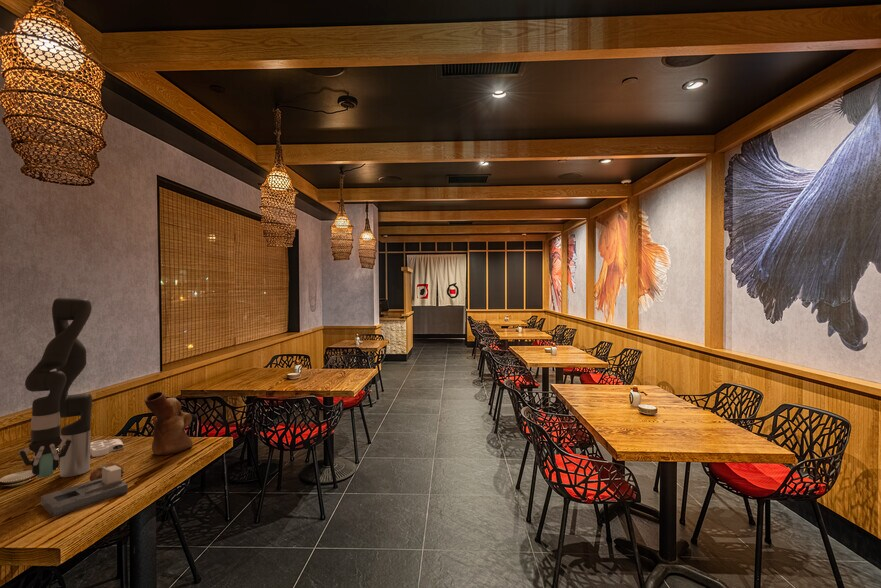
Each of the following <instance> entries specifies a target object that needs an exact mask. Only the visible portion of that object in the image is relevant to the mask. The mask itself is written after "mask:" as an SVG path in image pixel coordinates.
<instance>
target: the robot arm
mask: <svg viewBox="0 0 881 588" xmlns="http://www.w3.org/2000/svg"><path fill="white" fill-rule="evenodd" d="M51 306H52V307H51V316H52V323H53V329H54V335H55V336H54V337H53V338H52V339H51V340H50V341H49V342H48V344H47V345H46V347H45V349H44V352H43V354H42V356H41V359H40V360H39V361H38V363H37V364H36V366H34V368H33V369H31V371H30V373H29V374H28V375H27V376H26V378H25V381H24V387H25V389H26V390H28V391H29V392H33V393H34V392H48V395H45V396H42V397H37V398H35V399H34V400H32V404H31V419H30V421H31V422H30V443H29V445H28V447H26V448H24V449H19V450H18V451H17V453H18V454H19V457H20V458H21V460H22V462H23V463H24V465H25V466H27V467H28V466H31V473H32V474H33V475H35V476H38V475H39V465H38V462H39V459H40V458H41V455H43V454H46V453H51V452H52V454H53V472H54V471H57V469H58V468H59V477H61V478H71V477H75V476H80V475H83V474H85V473H88V472H89V471H90V469H91V455H90V443H91V437H92V435H91V434H92V433H91V429H92V427H91V425H92V423H91V422H92V407H93V397H92V394H91V393H87V392H86V393H85V392H84V393H75V394H74V393H73V394H69V389H70V388H71V386H72V384H73V383H74V382H75V380H76V379H77V378H78V376H79V375H80V374H81V373H82V372H83V370H84V369H85V367H86V366H87V349H86V347H85V345H84V344H83V342H81V340H79V338H78V336H79V335H80V334H81V332H82V330H83V329H84V326H85V325H86V324H87V321H88V320H89V318H90V316H91V313H92V309H93V308H92V303H91V301H90V300H89V299H88V298H83V297H82V298H80V297H56V298H55V299H54V300H53V302H52V305H51ZM69 321H72V322H71V323H70V324H69ZM55 369H56V370H55ZM52 370H53V371H52ZM79 416H80V418H79V419H77V420H76V421H72V422H71V423H69V424H66V425H64V426H63V427H61V422H62V421H61V419H62V418H63V419H64V418H72V417H79ZM59 446H60V450H59V451H60V452H59V453H58V450H57V449H58V448H59ZM29 451H31V452H32V453H33V457H32V460H30V459H29V457H28V456H27V455H28V454H29ZM59 462H60V463H59Z"/></svg>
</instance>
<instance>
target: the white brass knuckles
mask: <svg viewBox="0 0 881 588" xmlns="http://www.w3.org/2000/svg"><path fill="white" fill-rule="evenodd" d="M124 448H125V445H124V443H123V441H122V439H119V438H112V439H109V440H108V439H107V440H106V439H97V440H95V441H92V442H91V441H90V456H91V457H93V458H95V457H96V458H97V457H102V456H104V455H107V454H109V453H112V452H115V451H122V449H124Z"/></svg>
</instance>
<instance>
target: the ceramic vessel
mask: <svg viewBox="0 0 881 588" xmlns="http://www.w3.org/2000/svg"><path fill="white" fill-rule="evenodd" d="M143 401H144V403H145V405H146V408H147V409H148V410H149V411H150V412H151V413H152V414H153V415H154V416H155V417H156V418H155V420H154V422H153V439H152V440H153V441H152V443H151V451H152V453H154V455H156V456H166V455H167V456H168V455H171V454H177V453H180V452H182V451H185V450H187V449H189V448H192V447H193V445H194V443H193V440H192V438H191V437H190V436H189V435H188V434H187V433H186V432H185V430H184V429H185V428H186V427H188V426H189V425H190V424H191V423H192V420H193V416H192V414H191V413H188V412H184V411H183V410H182V403H181V402H180V401H179V400H178V399H177V397H176V396H175V394H171V397H166V395H165V393H164V392H162V391H156V392H152V393H150V394H148V395H147V396H145V397H144V399H143Z"/></svg>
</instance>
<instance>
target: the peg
mask: <svg viewBox="0 0 881 588" xmlns="http://www.w3.org/2000/svg"><path fill="white" fill-rule="evenodd" d="M38 465H39V475H37V478H39V479H40V478H47V477H50V476H51V475H54V471H53V454H52V452H51V453H46V454H43V455H41V458H40V459H39V462H38Z"/></svg>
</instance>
